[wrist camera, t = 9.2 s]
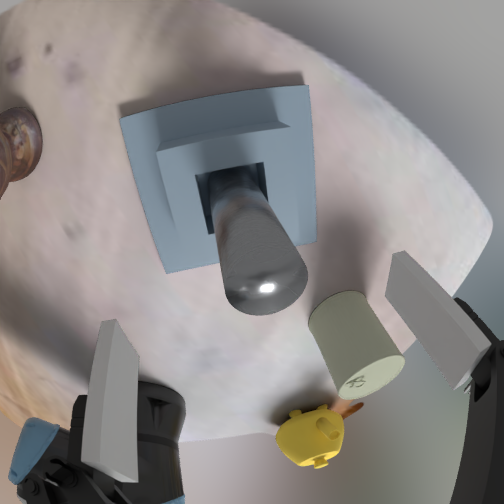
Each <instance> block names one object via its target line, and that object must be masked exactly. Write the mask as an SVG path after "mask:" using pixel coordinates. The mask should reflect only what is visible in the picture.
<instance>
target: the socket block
mask: <svg viewBox="0 0 504 504" xmlns="http://www.w3.org/2000/svg"><path fill="white" fill-rule="evenodd" d="M119 120H120V124H121V128H122V132H123V136H124V140H125V144H126V148H127V152H128V156H129V160H130V163H131V167H132V170H133V174H134V178H135V181H136V184H137V188H138V191H139V195H140V198H141V201H142V204H143V208H144V211H145V214H146V217H147V220H148V223H149V226H150V229H151V232H152V235H153V238H154V241H155V244H156V247H157V250H158V252H159V255H160V258H161V261H162V263H163V266H164V269H165V272H166V274H169V273H173V272H178V271H183V270H188V269H192V268H197V267H202V266H206V265H211V264H216V263H220V261H219V255H218V249H217V243H216V238H215V232H214V226H213V220H212V214H211V207H210V201H209V195H208V188H207V181H208V178H209V175H210V174H211V172H212V171H216V170H221V169H226V168H231V167H237V166H244V167H245V168H246V169H247V170H248V171H249V173H250V174H251V176H252V177H253V179H254V180H255V182H256V184H257V185H258V187H259V188H260V190H261V192H262V193H263V195H264V197H265V198H266V200H267V201H268V203H269V205H270V206H271V208H272V209H273V211H274V213H275V214H276V216H277V218H278V219H279V221H280V223H281V224H282V226H283V228H284V229H285V231H286V233H287V234H288V236H289V238H290V239H291V241H292V243H293V244H294V246H300V245H304V244H309V243H313V242H317V229H316V186H315V163H314V145H313V130H312V116H311V104H310V93H309V85H294V86H281V87H270V88H260V89H252V90H244V91H237V92H230V93H224V94H218V95H212V96H207V97H202V98H197V99H192V100H187V101H182V102H178V103H174V104H169V105H165V106H161V107H157V108H154V109H150V110H146V111H143V112H139V113H136V114H132V115H129V116H126V117H122V118H120V119H119Z"/></svg>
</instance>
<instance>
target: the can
mask: <svg viewBox="0 0 504 504" xmlns="http://www.w3.org/2000/svg"><path fill="white" fill-rule="evenodd" d="M309 329H310V331H311V333H312V334H313V336H314V338H315V340H316V342H317V344H318V346H319V349H320V351H321V353H322V355H323V358H324V360H325V362H326V365H327V367H328V369H329V372H330V374H331V376H332V379H333V381H334V384H335V386H336V389H337V391H338V395H339V397H341V398H342V399H347V400H350V399H357V398H360V397H364V396H366V395H369V394H371V393H373V392H375V391H377V390H379V389H380V388H382V387H384V386H385V385H386V384H388V383H389V382H390V381H391V380H393V379H394V378H395V377H396V376H397V375H398V374H399V373H400V371H401V370H402V368H403V366H404V364H405V358H404V356H403V355H402V354H401V352H400V351H399V349H398V348H397V346H396V345H395V343H394V342H393V340H392V339H391V337H390V336H389V334H388V333H387V331H386V330H385V328H384V327H383V325H382V324H381V322H380V320H379V319H378V317H377V316H376V314H375V313H374V311H373V310H372V308H371V307H370V305H369V304H368V302H367V299H366V297H365V296H364V295H363V294H362V293H360V292H357V291H344V292H340V293H337V294H335V295H333V296H331V297H329V298H327V299H326V300H324V301H323V302H322V303H321V304H319V305H318V306H317V308H316V309H315V310H314V311H313V313H312V315H311V317H310V319H309Z"/></svg>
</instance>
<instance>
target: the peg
mask: <svg viewBox="0 0 504 504" xmlns="http://www.w3.org/2000/svg"><path fill="white" fill-rule="evenodd" d="M207 188H208V195H209V201H210V207H211V214H212V220H213V226H214V232H215V238H216V243H217V249H218V255H219V261H220V266H221V272H222V277H223V283H224V288H225V294H226V297H227V299H228V301H229V302H230V304H231V305H232V306H233V307H234V308H236V309H237V310H239V311H241V312H243V313H246V314H250V315H268V314H273V313H276V312H279V311H281V310H283V309H285V308H287V307H288V306H290V305H291V304H293V303H294V302H295V301H296V300H297V299H298V298H299V297H300V296H301V294H302V293H303V291H304V289H305V287H306V284H307V280H308V271H307V267H306V265H305V263H304V261H303V260H302V258H301V256H300V255H299V253H298V251H297V249H296V248H295V246H294V244H293V243H292V241H291V239H290V238H289V236H288V234H287V233H286V231H285V229H284V228H283V226H282V224H281V223H280V221H279V219H278V218H277V216H276V214H275V213H274V211H273V209H272V208H271V206H270V205H269V203H268V201H267V200H266V198H265V197H264V195H263V193H262V192H261V190H260V188H259V187H258V185H257V184H256V182H255V180H254V179H253V177H252V176H251V174H250V173H249V171H248V170H247V169H246V168H245V167H244V166H237V167H231V168H226V169H221V170H216V171H212V172H211V174H210V175H209V178H208V181H207Z"/></svg>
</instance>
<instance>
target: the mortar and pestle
mask: <svg viewBox="0 0 504 504" xmlns="http://www.w3.org/2000/svg"><path fill="white" fill-rule="evenodd" d="M41 153H42V135H41V131H40V128H39V125H38V123H37V121H36V120H35V118H34V117H33V115H32V114H31V113H30V112H29V111H28V110H27V109H26V108H25V107H24V108H11V109H9V110H7V111H5V112H3V113H2V114H0V199H1V197H2V195H3V194H4V192H5V190H6V188H7V186H8V183H9V182H14V181H18V180H21V179H23V178H25V177H27V176H28V175H29V174H30V173H31V172H32V171H33V170H34V169H35V167H36V165H37V164H38V162H39V159H40V157H41Z"/></svg>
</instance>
